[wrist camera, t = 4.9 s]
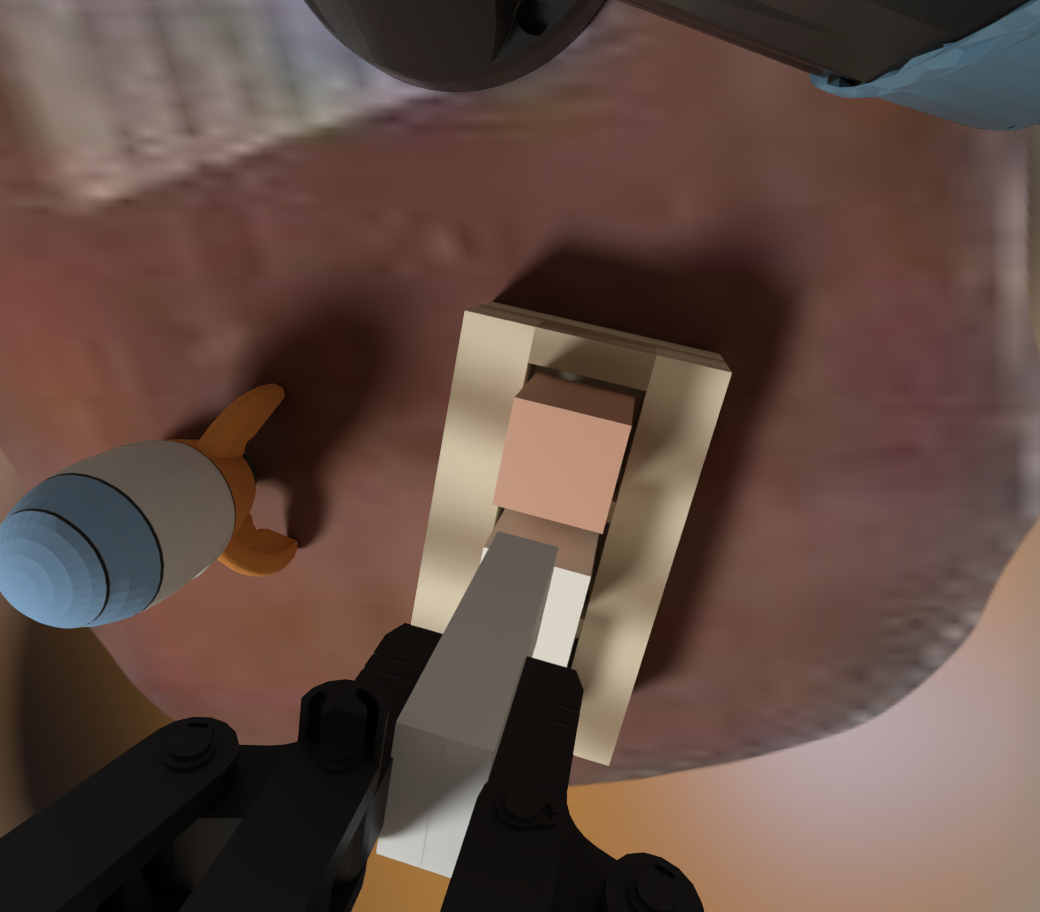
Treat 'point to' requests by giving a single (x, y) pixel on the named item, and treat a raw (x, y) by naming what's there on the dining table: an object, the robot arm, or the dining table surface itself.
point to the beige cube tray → (636, 499)
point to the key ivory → (556, 578)
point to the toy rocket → (140, 523)
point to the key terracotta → (564, 451)
